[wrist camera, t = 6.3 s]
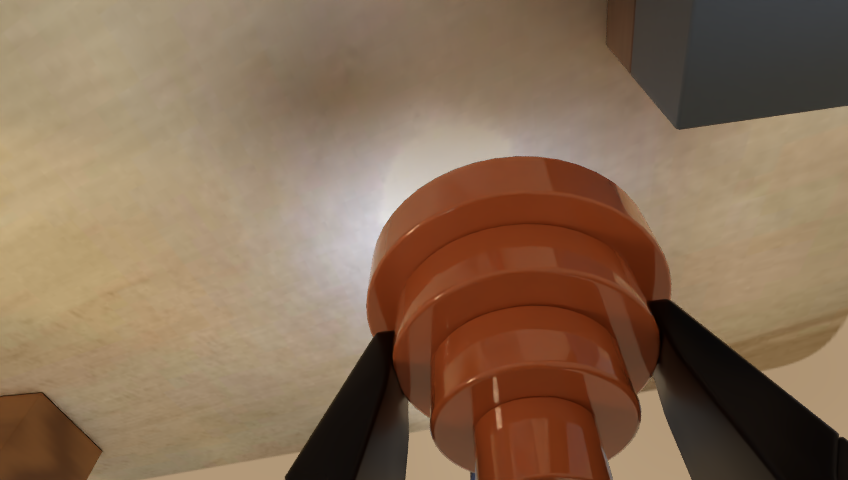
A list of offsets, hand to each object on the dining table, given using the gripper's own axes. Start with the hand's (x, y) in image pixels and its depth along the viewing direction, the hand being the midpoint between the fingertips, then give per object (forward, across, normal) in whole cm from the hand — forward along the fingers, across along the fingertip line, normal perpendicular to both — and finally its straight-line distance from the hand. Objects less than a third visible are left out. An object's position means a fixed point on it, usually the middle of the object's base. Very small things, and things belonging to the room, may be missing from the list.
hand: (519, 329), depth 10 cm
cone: (+2, 0, 0) cm, 2 cm away
